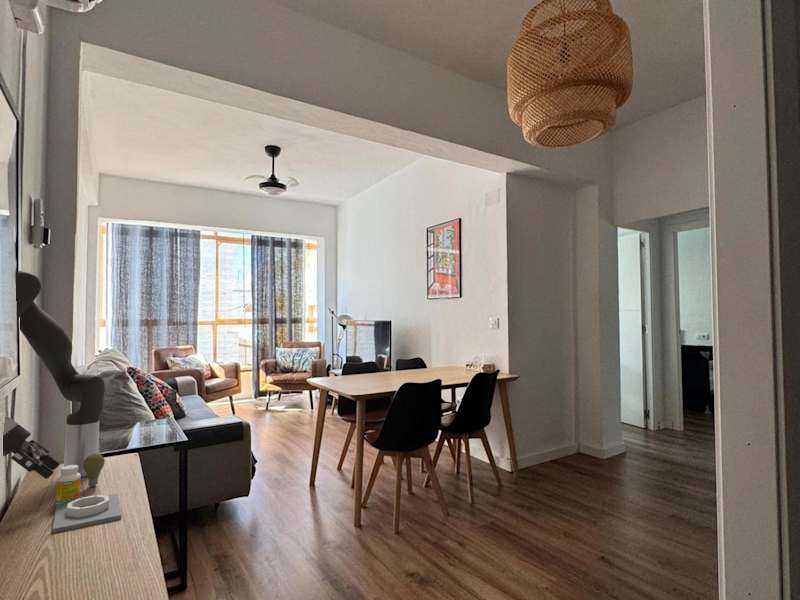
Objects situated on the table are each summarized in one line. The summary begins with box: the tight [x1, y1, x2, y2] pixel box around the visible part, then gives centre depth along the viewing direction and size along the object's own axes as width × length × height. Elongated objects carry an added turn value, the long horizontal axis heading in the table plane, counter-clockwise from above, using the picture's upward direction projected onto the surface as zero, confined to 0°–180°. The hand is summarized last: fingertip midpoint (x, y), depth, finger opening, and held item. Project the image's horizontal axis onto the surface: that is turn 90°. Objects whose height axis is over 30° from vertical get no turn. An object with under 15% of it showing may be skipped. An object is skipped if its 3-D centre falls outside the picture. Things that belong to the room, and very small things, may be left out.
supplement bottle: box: [55, 465, 82, 505], centre depth 124 cm, size 5×5×10 cm
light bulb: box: [83, 453, 106, 488], centre depth 136 cm, size 6×6×10 cm
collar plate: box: [52, 493, 122, 534], centre depth 116 cm, size 18×14×3 cm
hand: (53, 471), depth 123 cm, fingers open, 8 cm apart
